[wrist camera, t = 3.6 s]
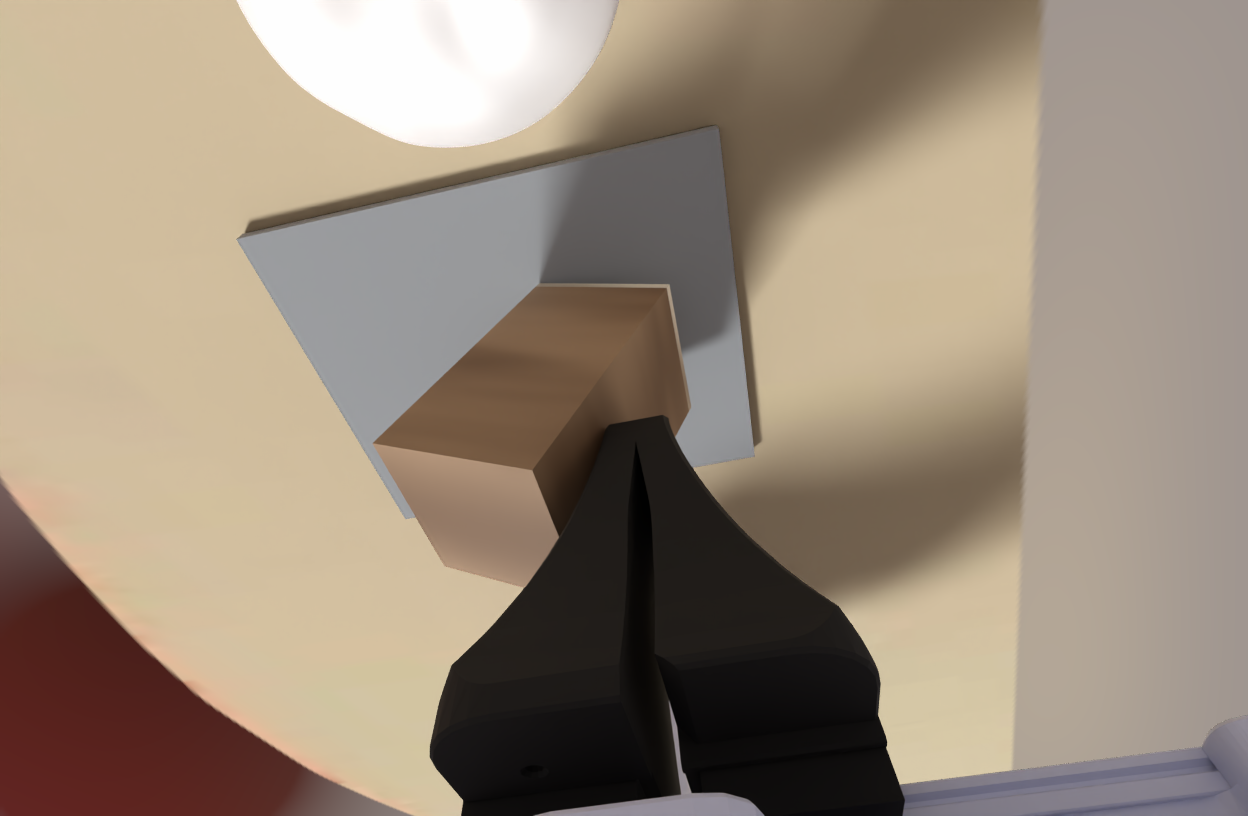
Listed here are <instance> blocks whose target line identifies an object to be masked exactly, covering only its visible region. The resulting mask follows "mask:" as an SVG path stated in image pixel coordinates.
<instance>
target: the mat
mask: <svg viewBox="0 0 1248 816" xmlns="http://www.w3.org/2000/svg"><path fill="white" fill-rule="evenodd" d="M236 240H237V241H238V243H239V245H240V246H241V248H242V249H243V251H244V253H245V254H246V256H247V258H248V259H249V261H250V263H251V264H252V266H253V268H254V269H255V271H256V273H257V274H258V276H259V278H260V279H261V281H262V283H263V284H264V286H265V288H266V289H267V291H268V292H269V294H270V296H271V297H272V299H273V301H274V302H275V304H276V306H277V307H278V309H279V311H280V312H281V314H282V316H283V317H284V319H285V321H286V322H287V324H288V326H289V327H290V329H291V330H292V332H293V334H294V335H295V337H296V339H297V340H298V342H299V344H300V345H301V347H302V349H303V350H304V352H305V354H306V355H307V357H308V359H309V360H310V362H311V364H312V365H313V367H314V369H315V370H316V372H317V373H318V375H319V377H320V378H321V380H322V382H323V383H324V385H325V387H326V388H327V390H328V392H329V393H330V395H331V397H332V398H333V400H334V402H335V403H336V405H337V407H338V408H339V410H340V412H341V413H342V415H343V416H344V418H345V420H346V421H347V423H348V425H349V426H350V428H351V430H352V431H353V433H354V435H355V436H356V438H357V440H358V441H359V443H360V445H361V446H362V448H363V450H364V451H365V453H366V455H367V456H368V458H369V459H370V461H371V463H372V464H373V466H374V468H375V469H376V471H377V473H378V474H379V476H380V478H381V479H382V481H383V483H384V484H385V486H386V488H387V489H388V491H389V493H390V494H391V496H392V498H393V499H394V501H395V502H396V504H397V506H398V507H399V509H400V511H401V512H402V514H403V516H404V517H405V519H409V518H415V515H414V513H413V512H412V510H411V508H410V507H409V505H408V503H407V501H406V500H405V498H404V496H403V495H402V493H401V491H400V490H399V488H398V486H397V484H396V483H395V481H394V479H393V478H392V476H391V474H390V473H389V471H388V469H387V468H386V466H385V464H384V462H383V461H382V459H381V457H380V456H379V454H378V452H377V451H376V449H375V447H374V445H373V444H372V443H373V442H374V441H375V440H376V439H377V438H378V437H379V436H380V435H382V434H383V433H384V432H385V431H386V430H387V429H388V428H389V427H390V426H391V425H392V424H393V423H394V422H395V421H396V420H397V419H398V418H399V417H400V416H401V415H402V414H403V413H404V412H406V411H407V410H408V409H409V408H410V407H411V406H412V405H413V404H414V403H415V402H416V401H417V400H418V399H419V398H420V397H421V396H422V395H423V394H424V393H425V392H426V391H427V390H428V389H430V388H431V387H432V386H433V385H434V384H435V383H436V382H437V381H438V380H439V379H440V378H441V377H442V376H443V375H444V374H445V373H446V372H447V371H448V370H449V369H450V368H451V367H452V366H453V365H455V364H456V363H457V362H458V361H459V360H460V359H461V358H462V357H463V356H464V355H465V354H466V353H467V352H468V351H469V350H470V349H471V348H472V347H473V346H474V345H475V344H476V343H477V342H479V341H480V340H481V339H482V338H483V337H484V336H485V335H486V334H487V333H488V332H489V331H490V330H491V329H492V328H493V327H494V326H495V325H496V324H497V323H498V322H499V321H500V320H501V319H503V318H504V317H505V316H506V315H507V314H508V313H509V312H510V311H511V310H512V309H513V308H514V307H515V306H516V305H517V304H518V303H519V302H520V301H521V300H522V299H523V298H524V297H525V296H526V295H528V294H529V293H530V292H531V291H532V290H533V289H534V288H535V287H536V286H537V285H538V284H539V283H579V284H669V285H670V290H671V296H672V301H673V307H674V313H675V318H676V324H677V329H678V335H679V341H680V346H681V352H682V357H683V363H684V369H685V374H686V380H687V385H688V391H689V397H690V402H691V409H690V410H689V412H688V414H687V416H686V418H685V420H684V422H683V424H682V425H681V427H680V429H679V431H678V433H677V435H676V437H675V438H676V440H677V442H678V444H679V446H680V448H681V450H682V452H683V453H684V455H685V457H686V459H687V460H688V462H689V463H690V465H691V466H692V468H693V467H699V466H704V465H710V464H716V463H721V462H727V461H732V460H738V459H743V458H749V457H755V455H754V446H753V437H752V427H751V418H750V409H749V400H748V390H747V381H746V372H745V363H744V354H743V344H742V335H741V326H740V317H739V308H738V298H737V289H736V280H735V271H734V261H733V252H732V243H731V234H730V225H729V215H728V206H727V197H726V188H725V179H724V169H723V160H722V151H721V142H720V132H719V128H718V126H717V125H714V126H710V127H705V128H701V129H697V130H692V131H688V132H684V133H679V134H675V135H671V136H666V137H662V138H658V139H653V140H649V141H645V142H640V143H636V144H632V145H627V146H623V147H618V148H614V149H610V150H605V151H601V152H597V153H592V154H588V155H584V156H579V157H575V158H571V159H566V160H562V161H558V162H553V163H549V164H545V165H540V166H536V167H532V168H527V169H523V170H518V171H514V172H510V173H505V174H501V175H497V176H492V177H488V178H484V179H479V180H475V181H471V182H466V183H462V184H458V185H453V186H449V187H445V188H440V189H436V190H432V191H427V192H423V193H418V194H414V195H410V196H405V197H401V198H397V199H392V200H388V201H384V202H379V203H375V204H371V205H366V206H362V207H358V208H353V209H349V210H345V211H340V212H336V213H332V214H327V215H323V216H318V217H314V218H310V219H305V220H301V221H297V222H292V223H288V224H284V225H279V226H275V227H271V228H266V229H262V230H258V231H253V232H249V233H245V234H242V235H241V236H240V237H239V238H237V239H236Z"/></svg>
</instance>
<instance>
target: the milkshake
mask: <svg viewBox="0 0 1248 816" xmlns="http://www.w3.org/2000/svg"><path fill="white" fill-rule="evenodd" d="M237 2H238V4H239V6H240V8H241V10H242V12H243V14H244V16H245V17H246V19H247V21H248V22H249V24H250V26H251V27H252V29H253V30H254V32H255V34H256V35H257V37H258V38H259V39H260V41H261V42H262V44H263V45H264V46H265V48H266V49H267V50H268V52H269V53H270V54H271V56H272V57H273V58H274V59H275V61H276V62H277V63H278V64H279V65H280V66H281V68H282V69H283V70H284V71H285V72H286V73H287V74H288V75H289V76H290V77H291V78H292V79H293V80H294V81H295V82H296V83H297V84H298V85H300V86H301V87H302V88H303V89H305V90H306V91H307V92H309V93H310V94H311V95H313V96H314V97H316V98H317V99H319V100H320V101H322V102H323V103H325V104H326V105H328V106H330V107H331V108H333V109H335V110H337V111H339V112H341V113H343V114H344V115H346V116H348V117H350V118H352V119H354V120H356V121H358V122H360V123H362V124H364V125H366V126H368V127H369V128H371V129H373V130H376V131H378V132H380V133H382V134H384V135H386V136H388V137H391V138H393V139H396V140H398V141H402V142H405V143H408V144H413V145H418V146H426V147H441V148H449V147H465V146H473V145H479V144H484V143H489V142H492V141H496V140H499V139H502V138H505V137H508V136H511V135H513V134H515V133H518V132H520V131H522V130H524V129H526V128H528V127H529V126H531V125H533V124H534V123H536V122H538V121H539V120H540V119H542V118H543V117H545V116H546V115H547V114H549V113H550V112H551V111H552V110H553V109H555V108H556V107H557V106H558V105H559V104H560V103H561V102H562V101H563V100H564V99H565V98H566V97H567V96H568V95H569V94H570V93H571V92H572V91H573V90H574V89H575V88H576V86H577V85H578V84H579V83H580V82H581V80H582V79H583V78H584V76H585V75H586V74H587V72H588V71H589V70H590V68H591V67H592V65H593V63H594V62H595V60H596V59H597V57H598V55H599V53H600V51H601V50H602V48H603V46H604V43H605V41H606V39H607V37H608V34H609V32H610V29H611V26H612V24H613V21H614V18H615V14H616V11H617V7H618V3H619V0H237Z"/></svg>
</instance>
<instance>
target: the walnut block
mask: <svg viewBox="0 0 1248 816" xmlns="http://www.w3.org/2000/svg"><path fill="white" fill-rule="evenodd" d="M690 409H691V402H690V397H689V391H688V385H687V380H686V374H685V369H684V363H683V357H682V352H681V346H680V341H679V335H678V329H677V324H676V318H675V313H674V307H673V301H672V296H671V290H670V285H669V284H579V283H539V284H538V285H537V286H536V287H535V288H534V289H533V290H532V291H531V292H530V293H529V294H528V295H526V296H525V297H524V298H523V299H522V300H521V301H520V302H519V303H518V304H517V305H516V306H515V307H514V308H513V309H512V310H511V311H510V312H509V313H508V314H507V315H506V316H505V317H504V318H503V319H501V320H500V321H499V322H498V323H497V324H496V325H495V326H494V327H493V328H492V329H491V330H490V331H489V332H488V333H487V334H486V335H485V336H484V337H483V338H482V339H481V340H480V341H479V342H477V343H476V344H475V345H474V346H473V347H472V348H471V349H470V350H469V351H468V352H467V353H466V354H465V355H464V356H463V357H462V358H461V359H460V360H459V361H458V362H457V363H456V364H455V365H453V366H452V367H451V368H450V369H449V370H448V371H447V372H446V373H445V374H444V375H443V376H442V377H441V378H440V379H439V380H438V381H437V382H436V383H435V384H434V385H433V386H432V387H431V388H430V389H428V390H427V391H426V392H425V393H424V394H423V395H422V396H421V397H420V398H419V399H418V400H417V401H416V402H415V403H414V404H413V405H412V406H411V407H410V408H409V409H408V410H407V411H406V412H404V413H403V414H402V415H401V416H400V417H399V418H398V419H397V420H396V421H395V422H394V423H393V424H392V425H391V426H390V427H389V428H388V429H387V430H386V431H385V432H384V433H383V434H382V435H380V436H379V437H378V438H377V439H376V440H375V441H374V442H373V443H372V444H373V445H374V447H375V449H376V451H377V452H378V454H379V456H380V457H381V459H382V461H383V462H384V464H385V466H386V468H387V469H388V471H389V473H390V474H391V476H392V478H393V479H394V481H395V483H396V484H397V486H398V488H399V490H400V491H401V493H402V495H403V496H404V498H405V500H406V501H407V503H408V505H409V507H410V508H411V510H412V512H413V513H414V515H415V517H416V518H417V520H418V522H419V524H420V525H421V527H422V529H423V530H424V532H425V534H426V535H427V537H428V539H429V541H430V542H431V544H432V546H433V547H434V549H435V551H436V552H437V554H438V556H439V557H440V559H441V561H442V563H443V564H444V566H446V567H450V568H454V569H457V570H461V571H465V572H468V573H472V574H476V575H479V576H483V577H487V578H490V579H494V580H498V581H501V582H505V583H509V584H513V585H516V586H520V587H524V588H525V587H526V585H527V584H528V583H529V581H530V580H531V579H532V577H533V576H534V574H535V573H536V571H537V570H538V569H539V567H540V566H541V564H542V563H543V562H544V560H545V559H546V557H547V556H548V554H549V553H550V551H551V549H552V548H553V546H554V545H555V543H556V541H557V540H558V538H559V536H560V535H561V533H562V531H563V529H564V528H565V526H566V524H567V522H568V520H569V518H570V516H571V514H572V512H573V511H574V509H575V507H576V505H577V503H578V501H579V499H580V497H581V494H582V492H583V490H584V488H585V485H586V483H587V481H588V478H589V476H590V473H591V471H592V469H593V466H594V463H595V461H596V458H597V455H598V452H599V449H600V446H601V443H602V440H603V436H604V432H605V429H606V428H607V427H608V425H610V424H615V423H621V422H626V421H632V420H637V419H642V418H648V417H653V416H659V415H664V416H666V417H668V418H669V423H670V426H671V429H672V431H673V434H674V436H675V437H676V435H677V433H678V431H679V429H680V427H681V425H682V424H683V422H684V420H685V418H686V416H687V414H688V412H689V410H690Z"/></svg>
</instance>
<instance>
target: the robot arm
mask: <svg viewBox="0 0 1248 816" xmlns="http://www.w3.org/2000/svg"><path fill="white" fill-rule="evenodd" d="M880 684H881V683H880V677H879V672H878V669H877V667H876V665H875V662H874V660H873V658H872V656H871V655H870V653H869V651H868V649H867V647H866V646H865V644H864V642H863V641H862V639H861V637H860V636H859V634H858V633H857V631H856V630H855V628H854V627H853V625H852V624H851V623H850V621H849V620H848V618H847V617H846V616H845V614H844V613H843V612H842V610H841V609H840V608H839V606H837V605H836V604H834V603H833V602H831V601H830V600H828V599H827V598H825V597H824V596H822V595H821V594H819V593H818V592H816V591H815V590H814V589H812V588H811V587H809V586H808V585H807V584H805V583H804V582H802V581H801V580H800V579H799V578H797V577H796V576H795V575H793V574H792V573H791V572H789V571H788V570H787V569H786V568H784V567H783V566H782V565H781V564H780V563H778V562H777V561H776V560H775V559H774V558H773V557H772V556H770V555H769V554H768V553H767V552H766V551H765V550H764V549H762V548H761V547H760V546H759V545H758V544H757V543H756V542H755V541H753V540H752V539H751V538H750V537H749V536H748V535H747V534H746V533H745V532H744V531H743V530H742V529H741V528H740V527H739V526H738V524H737V523H736V522H735V521H734V520H733V519H732V518H731V517H730V516H729V515H728V514H727V512H726V511H725V510H724V509H723V508H722V507H721V505H720V504H719V503H718V502H717V501H716V499H715V498H714V497H713V496H712V494H711V493H710V492H709V490H708V489H707V488H706V487H705V485H704V484H703V482H702V481H701V480H700V478H699V477H698V475H697V474H696V472H695V471H694V469H693V468H692V466H691V465H690V463H689V462H688V460H687V459H686V457H685V455H684V453H683V452H682V450H681V448H680V446H679V444H678V442H677V440H676V438H675V436H674V434H673V431H672V429H671V426H670V423H669V418H668V417H666V416H664V415H659V416H653V417H648V418H642V419H637V420H632V421H626V422H621V423H615V424H610V425H608V427H607V428H606V429H605V432H604V436H603V440H602V443H601V446H600V449H599V452H598V455H597V458H596V461H595V463H594V466H593V469H592V471H591V473H590V476H589V478H588V481H587V483H586V485H585V488H584V490H583V492H582V494H581V497H580V499H579V501H578V503H577V505H576V507H575V509H574V511H573V512H572V514H571V516H570V518H569V520H568V522H567V524H566V526H565V528H564V529H563V531H562V533H561V535H560V536H559V538H558V540H557V541H556V543H555V545H554V546H553V548H552V549H551V551H550V553H549V554H548V556H547V557H546V559H545V560H544V562H543V563H542V564H541V566H540V567H539V569H538V570H537V571H536V573H535V574H534V576H533V577H532V579H531V580H530V581H529V583H528V584H527V585H526V587H525V588H524V589H523V590H522V592H521V593H520V594H519V595H518V596H517V598H516V599H515V600H514V601H513V602H512V603H511V605H510V606H509V607H508V608H507V609H506V611H505V612H504V613H503V614H502V615H501V616H500V618H499V619H498V620H497V621H496V622H495V623H494V624H493V625H492V627H491V628H490V629H489V630H488V631H487V632H486V633H485V634H484V635H483V636H482V637H481V638H480V639H479V640H478V641H477V642H476V643H475V644H474V645H472V646H471V647H470V648H469V649H468V650H467V651H466V652H465V653H464V654H463V655H462V656H461V657H460V658H459V659H458V660H457V661H456V662H455V663H454V664H452V666H451V669H450V671H449V674H448V677H447V680H446V683H445V686H444V689H443V692H442V695H441V698H440V702H439V706H438V710H437V715H436V720H435V725H434V729H433V734H432V739H431V744H430V758H431V760H432V762H433V764H434V766H435V767H436V769H437V770H438V771H439V772H440V774H441V775H442V776H443V777H444V778H445V779H446V781H447V782H448V783H449V784H450V785H451V787H452V788H453V789H454V790H455V791H456V792H457V794H458V795H459V796H460V797H461V798H462V799H463V807H462V814H461V816H1248V715H1245V716H1240V717H1236V718H1231V719H1228V720H1225V721H1223V722H1221V723H1219V724H1217V725H1216V726H1214V727H1213V728H1212V729H1211V730H1210V731H1209V732H1208V734H1207V735H1206V737H1205V740H1204V742H1203V745H1202V747H1194V748H1187V749H1179V750H1171V751H1163V752H1155V753H1147V754H1139V755H1131V756H1123V757H1116V758H1107V759H1100V760H1091V761H1084V762H1076V763H1068V764H1060V765H1052V766H1044V767H1037V768H1028V769H1021V770H1012V771H1004V772H996V773H989V774H981V775H973V776H965V777H957V778H949V779H941V780H933V781H925V782H917V783H909V784H901V785H899V782H898V779H897V776H896V774H895V771H894V768H893V765H892V763H891V760H890V757H889V755H888V752H887V749H886V747H887V740H886V736H885V733H884V730H883V727H882V725H881V722H880V719H879V717H878V709H879V696H880Z"/></svg>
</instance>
